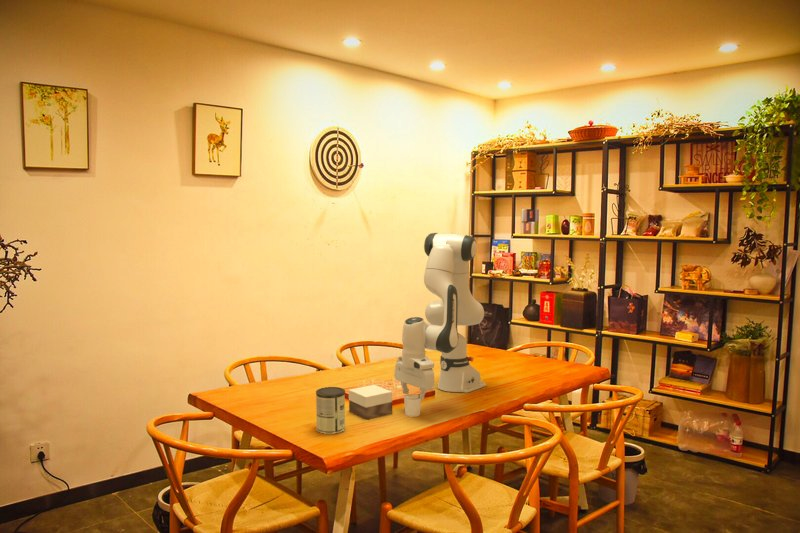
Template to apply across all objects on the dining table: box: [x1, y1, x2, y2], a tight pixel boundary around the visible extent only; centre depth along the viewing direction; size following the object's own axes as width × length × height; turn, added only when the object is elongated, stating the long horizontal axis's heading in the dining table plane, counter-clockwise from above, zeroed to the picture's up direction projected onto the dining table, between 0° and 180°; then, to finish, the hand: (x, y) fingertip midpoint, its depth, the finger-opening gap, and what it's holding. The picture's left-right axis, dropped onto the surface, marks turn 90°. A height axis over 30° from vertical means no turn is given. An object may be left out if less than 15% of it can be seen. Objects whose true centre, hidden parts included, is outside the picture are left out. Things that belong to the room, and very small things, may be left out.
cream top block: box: [348, 384, 393, 408], centre depth 239 cm, size 12×12×4 cm
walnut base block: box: [348, 399, 393, 421], centre depth 240 cm, size 12×12×5 cm
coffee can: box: [315, 386, 346, 435], centre depth 220 cm, size 10×10×14 cm
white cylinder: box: [403, 393, 422, 418], centre depth 238 cm, size 7×7×7 cm
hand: (413, 396), depth 237 cm, fingers open, 8 cm apart
